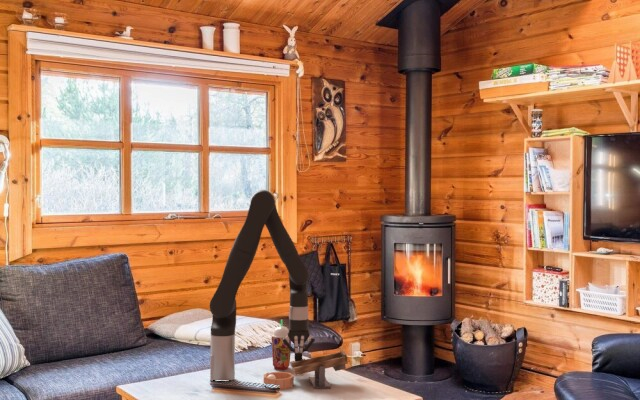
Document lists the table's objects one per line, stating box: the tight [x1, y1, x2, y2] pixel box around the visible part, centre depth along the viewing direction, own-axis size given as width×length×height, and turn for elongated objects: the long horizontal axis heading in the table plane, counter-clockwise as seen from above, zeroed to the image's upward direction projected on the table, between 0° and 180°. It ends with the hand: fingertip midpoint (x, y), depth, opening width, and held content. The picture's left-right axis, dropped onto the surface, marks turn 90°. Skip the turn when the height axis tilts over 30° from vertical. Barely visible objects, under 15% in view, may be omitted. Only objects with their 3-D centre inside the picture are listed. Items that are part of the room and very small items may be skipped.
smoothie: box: [270, 319, 292, 371], centre depth 294 cm, size 8×8×20 cm
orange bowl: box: [262, 371, 295, 390], centre depth 268 cm, size 11×11×4 cm
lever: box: [290, 349, 349, 376], centre depth 275 cm, size 20×17×5 cm
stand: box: [308, 366, 331, 390], centre depth 271 cm, size 6×14×8 cm, turn 9°
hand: (298, 362), depth 278 cm, fingers closed
